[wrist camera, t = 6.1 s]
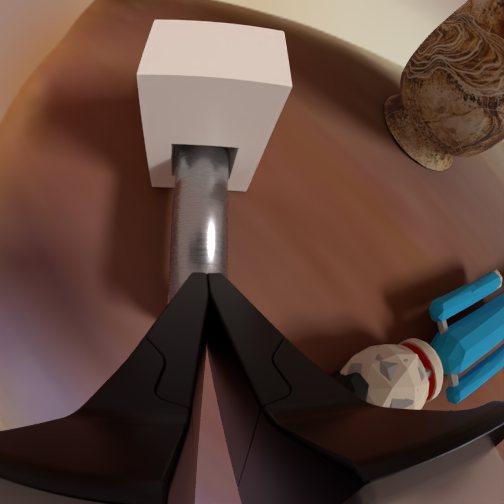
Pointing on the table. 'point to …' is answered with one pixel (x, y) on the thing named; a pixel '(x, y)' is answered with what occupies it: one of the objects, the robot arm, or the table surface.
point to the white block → (211, 93)
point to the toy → (434, 353)
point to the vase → (453, 89)
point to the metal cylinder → (199, 214)
